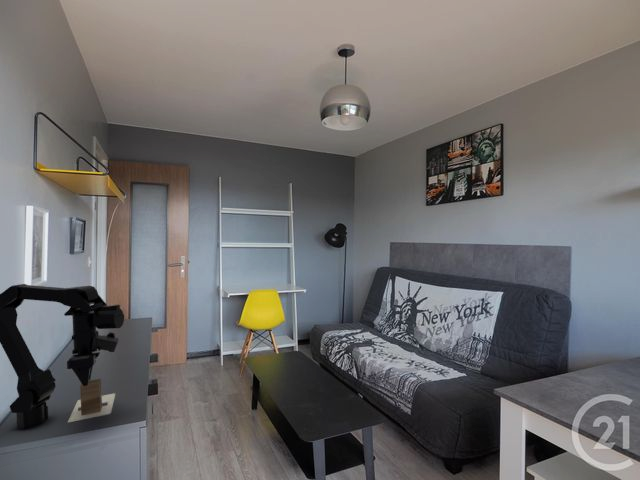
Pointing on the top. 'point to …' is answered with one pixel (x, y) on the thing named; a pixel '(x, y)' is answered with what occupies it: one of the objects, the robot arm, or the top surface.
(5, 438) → the top surface
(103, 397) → the mat
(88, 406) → the walnut block
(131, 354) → the top surface
